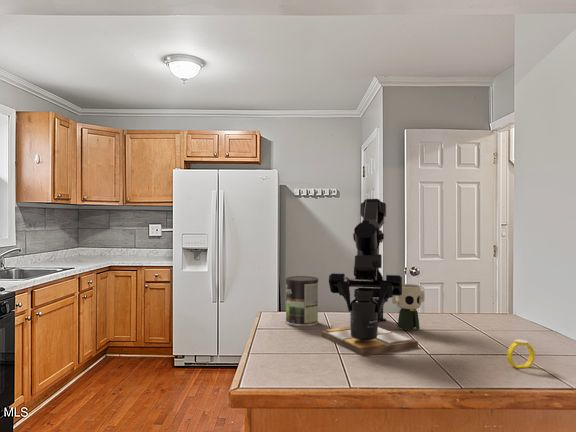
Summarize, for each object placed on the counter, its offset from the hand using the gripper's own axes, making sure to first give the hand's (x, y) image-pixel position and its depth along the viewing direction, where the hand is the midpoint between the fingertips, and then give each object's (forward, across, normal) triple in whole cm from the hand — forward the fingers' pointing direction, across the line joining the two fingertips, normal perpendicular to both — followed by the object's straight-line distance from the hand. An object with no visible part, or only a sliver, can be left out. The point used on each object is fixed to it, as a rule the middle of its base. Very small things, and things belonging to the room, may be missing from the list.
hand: (363, 311), depth 113 cm
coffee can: (-11, -21, +25) cm, 35 cm away
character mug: (-10, +11, +24) cm, 28 cm away
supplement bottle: (+4, 0, +6) cm, 7 cm away
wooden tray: (+1, 0, +13) cm, 13 cm away
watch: (+10, +35, +4) cm, 37 cm away
